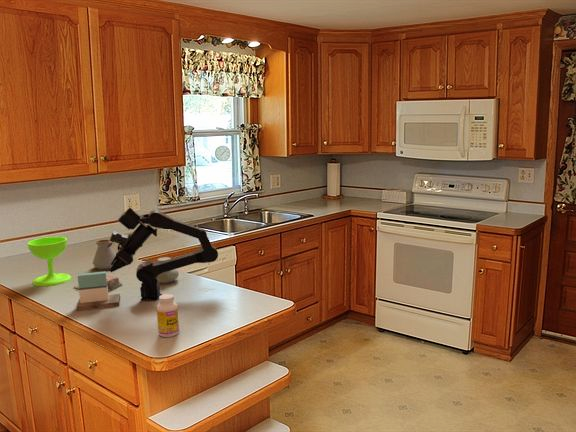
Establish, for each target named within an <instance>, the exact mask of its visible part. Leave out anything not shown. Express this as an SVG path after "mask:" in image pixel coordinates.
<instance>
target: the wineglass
mask: <svg viewBox="0 0 576 432" xmlns="http://www.w3.org/2000/svg"><path fill="white" fill-rule="evenodd" d="M26 245H27V247H28V250H29V251H30V252H31V254H32V255H34V256H35V257H36V258H39V259H42V260H46V261H47V266H48V267H47V268H48V274H45V275H42V276H39V277H36V278H35V279H34V280H32V285H33V286H34V287H52V286H58V285H61V284H65V283H68V282H70V281H71V280H72V275H70V274H68V273H62V272H60V273H56V272H54V264H53V259H55V258H58V257H59V256H60V255H62V254H63V253H64V251H65V250H66V248H67V245H68V238H67V237H66V236H48V237H46V236H45V237H41V238H36V239H32V240H30V241H28V242H27V244H26Z"/></svg>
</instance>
